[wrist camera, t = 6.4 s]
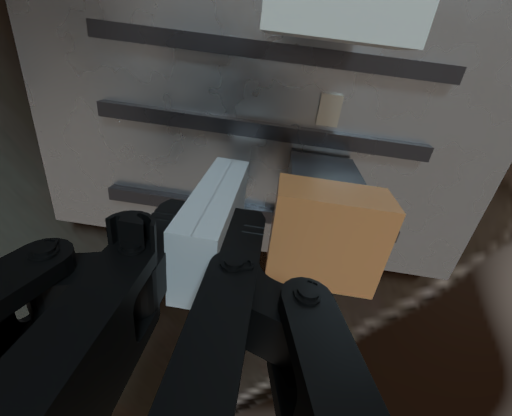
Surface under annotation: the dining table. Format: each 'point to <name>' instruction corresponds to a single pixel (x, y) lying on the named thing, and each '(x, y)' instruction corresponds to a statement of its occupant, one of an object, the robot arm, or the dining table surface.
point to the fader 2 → (331, 226)
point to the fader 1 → (352, 21)
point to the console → (267, 110)
